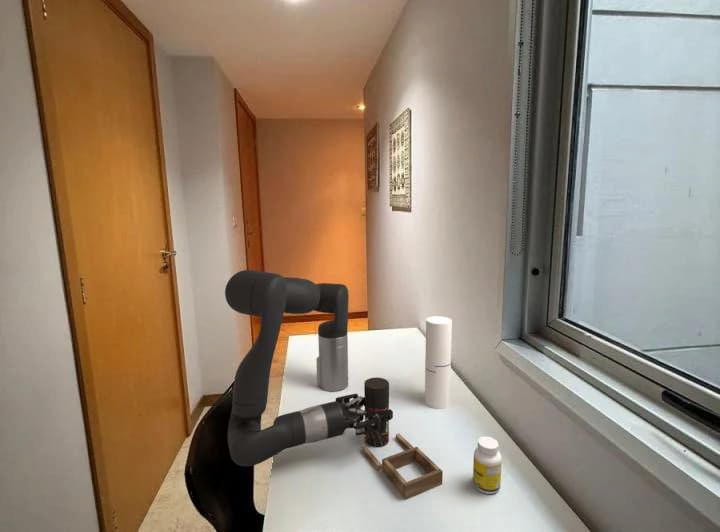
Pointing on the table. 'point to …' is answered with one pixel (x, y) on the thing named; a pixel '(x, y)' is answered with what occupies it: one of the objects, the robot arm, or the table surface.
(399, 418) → the table surface
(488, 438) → the supplement bottle
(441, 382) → the cylindrical container
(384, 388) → the deodorant
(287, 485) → the table surface
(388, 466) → the socket track
